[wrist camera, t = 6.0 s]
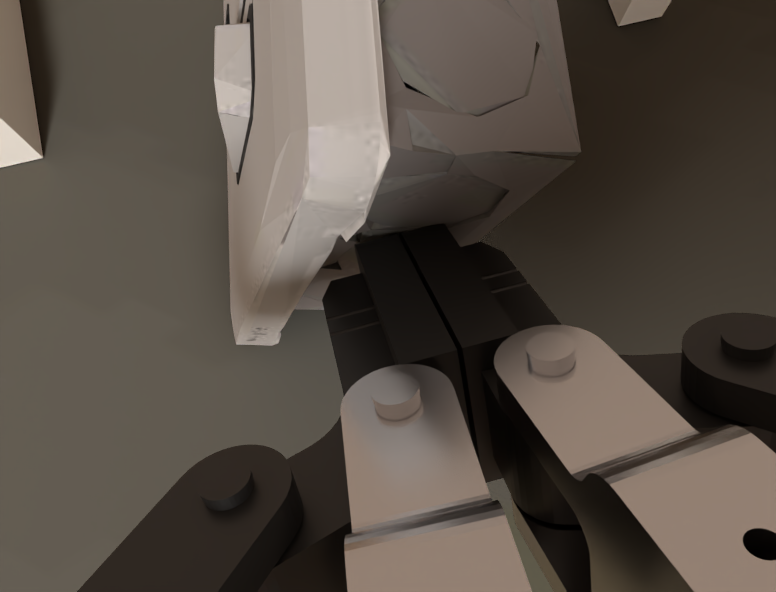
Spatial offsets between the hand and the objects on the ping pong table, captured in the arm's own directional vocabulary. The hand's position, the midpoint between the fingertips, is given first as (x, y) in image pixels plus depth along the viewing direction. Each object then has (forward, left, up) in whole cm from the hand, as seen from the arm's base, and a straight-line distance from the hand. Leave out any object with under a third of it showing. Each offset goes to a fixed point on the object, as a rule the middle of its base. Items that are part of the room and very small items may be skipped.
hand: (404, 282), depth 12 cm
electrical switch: (0, -5, -4) cm, 7 cm away
